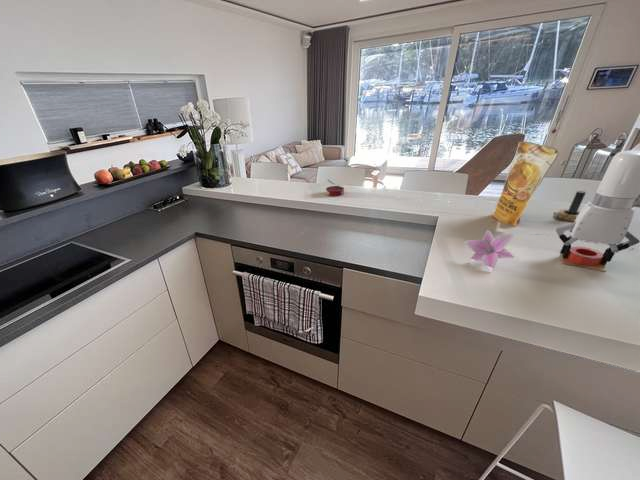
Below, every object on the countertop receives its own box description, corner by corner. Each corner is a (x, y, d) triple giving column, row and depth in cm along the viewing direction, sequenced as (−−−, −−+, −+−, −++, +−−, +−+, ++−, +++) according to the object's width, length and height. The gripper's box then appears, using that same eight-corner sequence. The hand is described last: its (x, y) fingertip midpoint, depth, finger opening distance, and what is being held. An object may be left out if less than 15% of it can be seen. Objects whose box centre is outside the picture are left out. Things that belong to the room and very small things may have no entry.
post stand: (583, 218, 108) (597, 189, 102) (586, 227, 102) (600, 196, 96) (552, 215, 113) (563, 187, 107) (552, 222, 107) (565, 194, 101)
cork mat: (601, 257, 85) (602, 256, 84) (605, 271, 79) (606, 270, 79) (560, 251, 90) (561, 250, 89) (562, 263, 84) (562, 262, 84)
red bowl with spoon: (328, 199, 166) (329, 182, 166) (345, 198, 162) (346, 181, 162) (322, 196, 156) (323, 177, 156) (341, 194, 152) (341, 176, 151)
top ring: (598, 257, 84) (602, 249, 83) (601, 268, 80) (605, 260, 78) (565, 251, 88) (568, 244, 87) (566, 262, 84) (570, 254, 82)
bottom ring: (582, 216, 107) (584, 210, 106) (583, 222, 102) (586, 217, 101) (556, 213, 111) (558, 208, 110) (557, 219, 106) (559, 214, 105)
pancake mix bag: (505, 212, 119) (529, 139, 105) (531, 231, 103) (563, 148, 89) (487, 212, 120) (508, 141, 106) (509, 231, 104) (538, 149, 90)
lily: (458, 255, 95) (458, 237, 88) (495, 240, 92) (499, 220, 85) (480, 283, 87) (482, 265, 80) (522, 267, 84) (528, 248, 77)
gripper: (659, 201, 73) (623, 261, 82) (567, 193, 82) (543, 247, 91) (668, 210, 68) (628, 273, 77) (568, 201, 77) (544, 257, 86)
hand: (582, 259), depth 84 cm, fingers open, 7 cm apart
